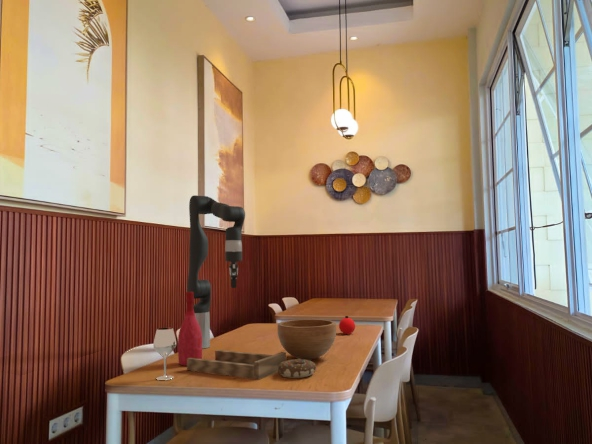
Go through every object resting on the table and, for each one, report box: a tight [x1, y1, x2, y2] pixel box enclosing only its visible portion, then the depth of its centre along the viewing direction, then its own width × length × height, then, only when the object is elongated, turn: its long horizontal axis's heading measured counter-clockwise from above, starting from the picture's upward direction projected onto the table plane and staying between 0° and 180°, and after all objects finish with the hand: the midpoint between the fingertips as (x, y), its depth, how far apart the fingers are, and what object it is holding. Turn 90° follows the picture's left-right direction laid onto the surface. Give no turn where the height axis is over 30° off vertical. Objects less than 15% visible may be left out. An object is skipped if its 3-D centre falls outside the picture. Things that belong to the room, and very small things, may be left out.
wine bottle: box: [177, 291, 203, 367], centre depth 194 cm, size 10×10×30 cm
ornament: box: [338, 315, 356, 335], centre depth 257 cm, size 9×9×10 cm
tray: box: [186, 349, 287, 381], centre depth 181 cm, size 34×19×6 cm, turn 60°
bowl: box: [277, 318, 337, 361], centre depth 196 cm, size 25×25×15 cm
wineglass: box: [153, 326, 178, 381], centre depth 170 cm, size 8×8×18 cm
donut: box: [277, 358, 317, 379], centre depth 171 cm, size 14×14×5 cm
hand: (233, 287), depth 206 cm, fingers open, 8 cm apart
